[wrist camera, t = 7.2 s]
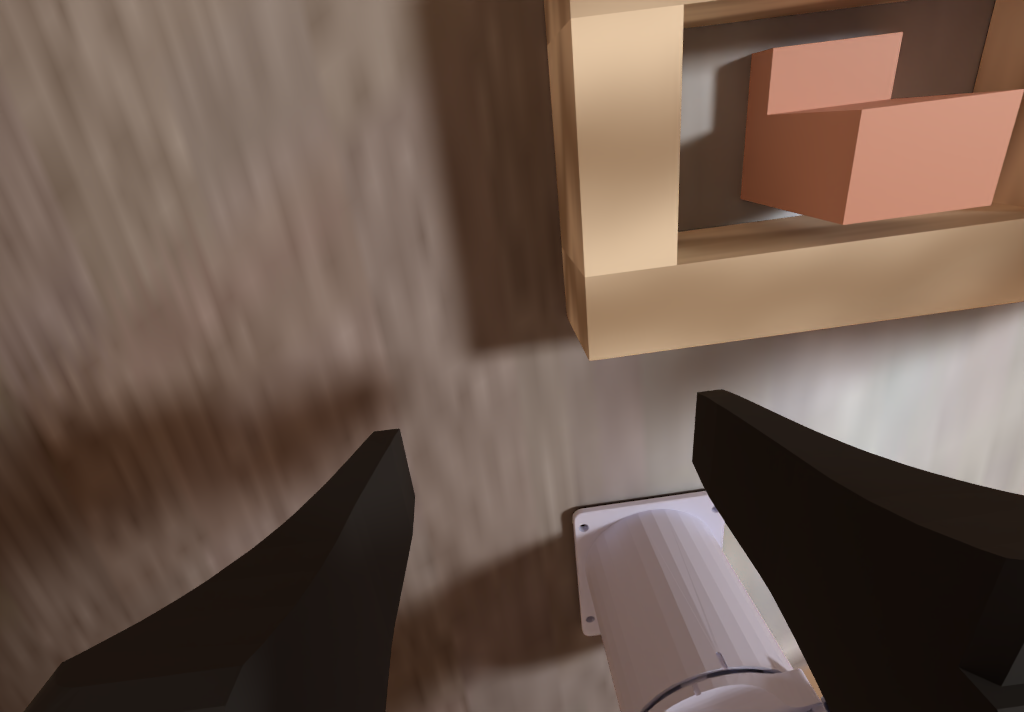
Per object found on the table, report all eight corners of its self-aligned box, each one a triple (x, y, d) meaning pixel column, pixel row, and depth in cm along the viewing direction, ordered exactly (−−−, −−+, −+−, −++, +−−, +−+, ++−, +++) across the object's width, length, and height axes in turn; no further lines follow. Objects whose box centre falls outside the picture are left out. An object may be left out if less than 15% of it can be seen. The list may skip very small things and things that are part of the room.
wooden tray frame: (996, 258, 22) (1119, 288, 17) (566, 316, 21) (589, 360, 17) (1115, -134, 16) (1335, -224, 12) (538, -64, 16) (562, -134, 12)
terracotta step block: (848, 184, 20) (991, 205, 14) (740, 198, 20) (843, 224, 14) (872, 38, 18) (1050, -3, 12) (751, 53, 18) (877, 19, 12)
